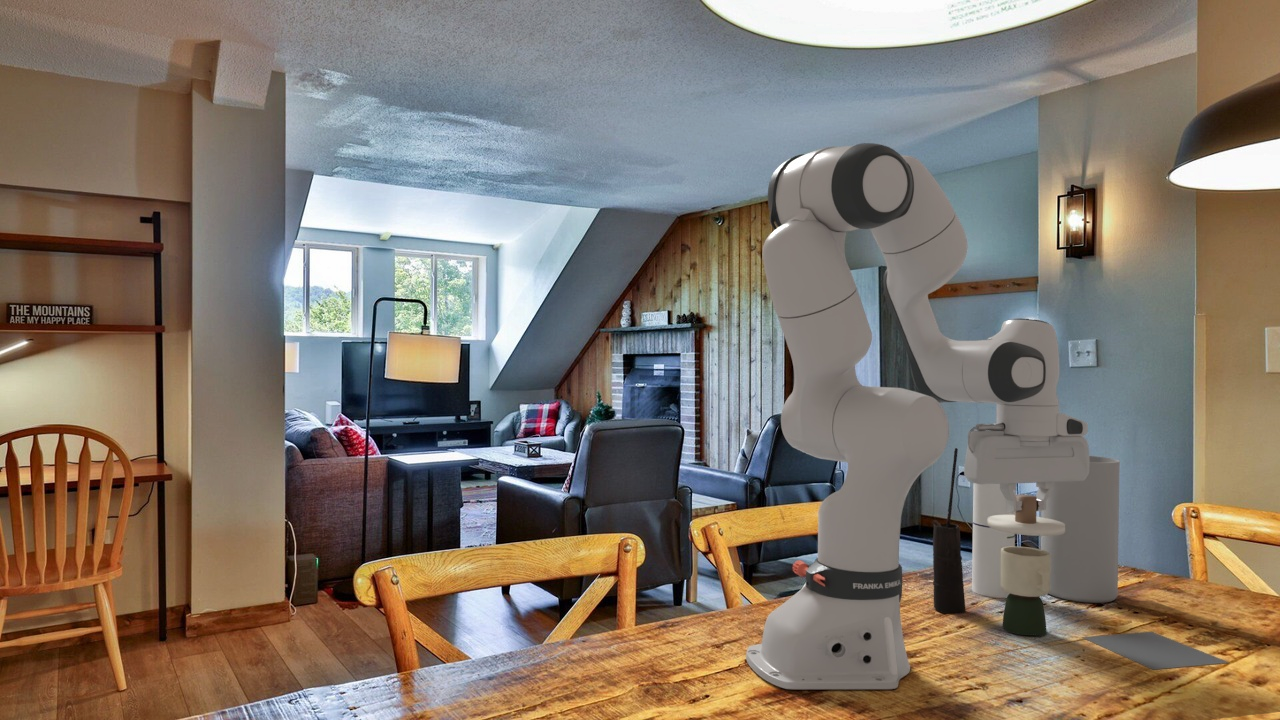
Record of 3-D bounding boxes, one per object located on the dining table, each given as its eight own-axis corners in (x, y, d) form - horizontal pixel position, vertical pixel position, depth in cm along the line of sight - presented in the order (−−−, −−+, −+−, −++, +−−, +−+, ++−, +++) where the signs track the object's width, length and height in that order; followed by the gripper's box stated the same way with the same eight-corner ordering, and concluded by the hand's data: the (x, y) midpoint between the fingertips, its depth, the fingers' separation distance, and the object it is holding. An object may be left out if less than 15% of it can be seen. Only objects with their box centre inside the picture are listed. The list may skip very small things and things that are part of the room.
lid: (1019, 537, 120) (1019, 503, 120) (972, 522, 130) (973, 491, 130) (1082, 534, 122) (1082, 501, 122) (1031, 519, 133) (1031, 489, 133)
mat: (1153, 673, 111) (1153, 669, 111) (1081, 641, 123) (1081, 637, 123) (1229, 666, 113) (1229, 662, 113) (1151, 635, 126) (1151, 631, 126)
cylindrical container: (964, 586, 152) (966, 454, 152) (1000, 586, 153) (1002, 454, 153) (984, 598, 145) (986, 459, 145) (1022, 597, 146) (1024, 459, 146)
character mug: (1068, 645, 121) (1069, 559, 121) (1026, 647, 120) (1027, 560, 120) (1022, 621, 132) (1023, 542, 132) (982, 623, 131) (984, 543, 131)
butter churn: (903, 602, 142) (905, 443, 142) (951, 598, 144) (953, 442, 144) (934, 618, 133) (936, 449, 133) (984, 615, 135) (986, 448, 135)
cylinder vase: (1132, 604, 142) (1134, 463, 142) (1061, 603, 142) (1063, 462, 142) (1093, 584, 155) (1095, 454, 154) (1028, 583, 155) (1029, 453, 155)
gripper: (981, 425, 121) (980, 517, 121) (1097, 423, 125) (1096, 512, 125) (956, 422, 127) (955, 509, 127) (1067, 420, 131) (1066, 505, 131)
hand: (1026, 511), depth 126 cm, fingers closed on lid, 3 cm apart
